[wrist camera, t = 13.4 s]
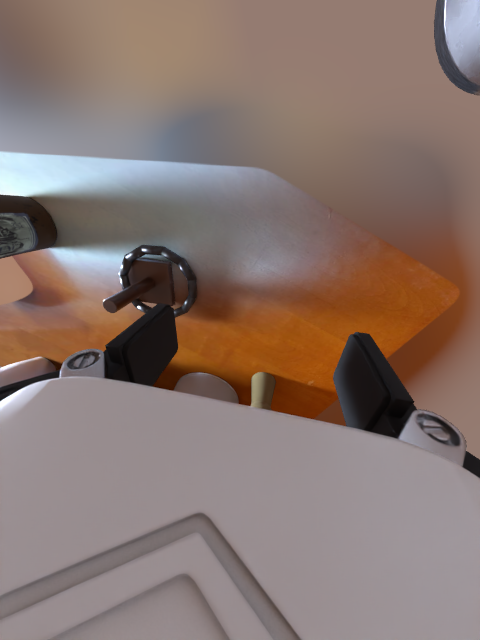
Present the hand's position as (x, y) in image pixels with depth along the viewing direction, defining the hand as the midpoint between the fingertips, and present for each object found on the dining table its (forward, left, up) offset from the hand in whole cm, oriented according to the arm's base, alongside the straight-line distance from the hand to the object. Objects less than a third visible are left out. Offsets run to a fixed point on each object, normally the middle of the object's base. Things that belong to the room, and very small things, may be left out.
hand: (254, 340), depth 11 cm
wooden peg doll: (+32, +2, -28) cm, 43 cm away
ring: (+9, -22, -27) cm, 35 cm away
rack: (+9, -24, -28) cm, 38 cm away
